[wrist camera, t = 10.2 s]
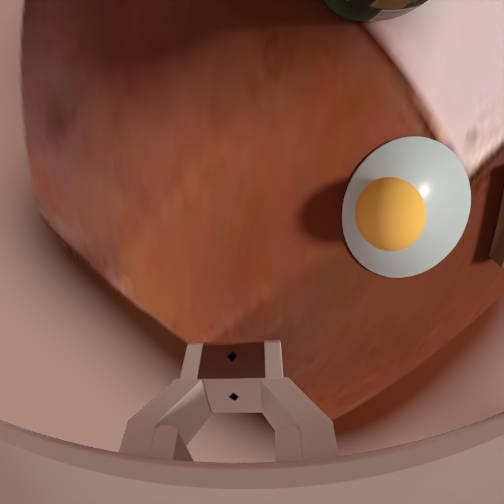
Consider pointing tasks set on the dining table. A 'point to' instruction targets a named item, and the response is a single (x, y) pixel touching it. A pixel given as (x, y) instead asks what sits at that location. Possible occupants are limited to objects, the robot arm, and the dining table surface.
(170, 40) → the dining table surface
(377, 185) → the ball
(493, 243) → the strip
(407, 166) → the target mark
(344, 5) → the coffee jar
